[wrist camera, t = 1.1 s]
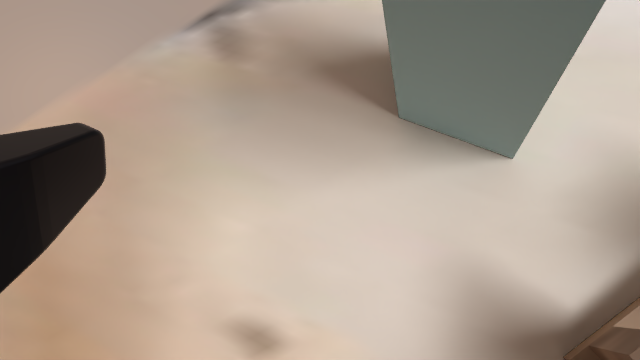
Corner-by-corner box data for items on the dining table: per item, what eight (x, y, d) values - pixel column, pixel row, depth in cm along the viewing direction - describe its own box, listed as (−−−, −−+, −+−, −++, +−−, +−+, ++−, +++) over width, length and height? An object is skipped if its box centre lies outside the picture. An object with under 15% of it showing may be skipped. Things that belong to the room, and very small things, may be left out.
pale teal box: (512, 158, 22) (629, -41, 9) (398, 117, 23) (366, -111, 10) (541, 86, 22) (691, -199, 10) (428, 49, 23) (430, -252, 11)
